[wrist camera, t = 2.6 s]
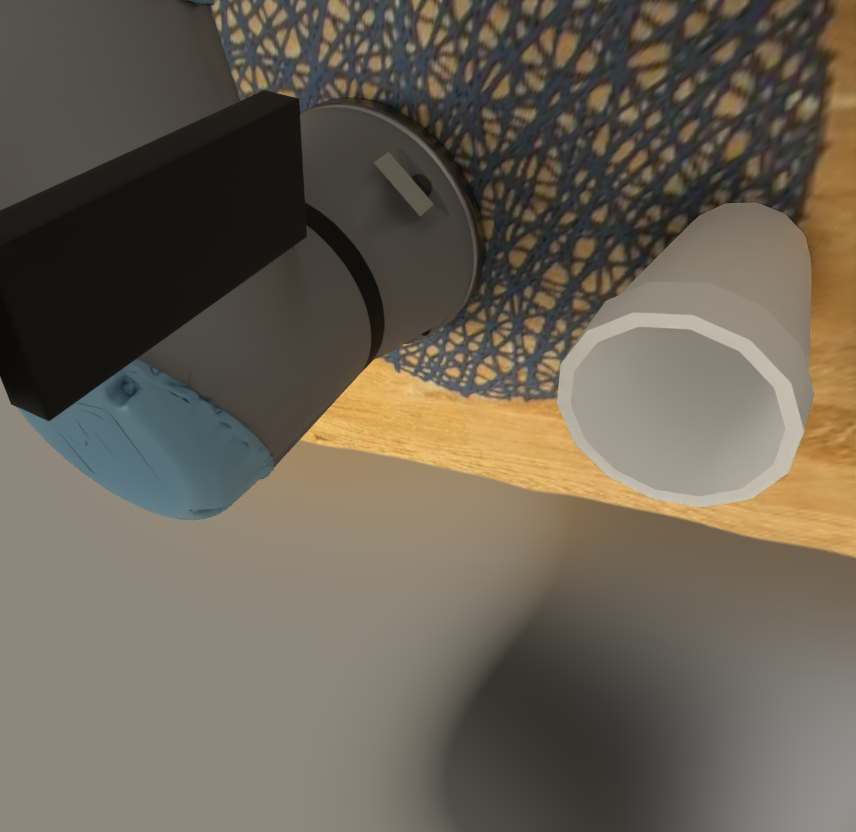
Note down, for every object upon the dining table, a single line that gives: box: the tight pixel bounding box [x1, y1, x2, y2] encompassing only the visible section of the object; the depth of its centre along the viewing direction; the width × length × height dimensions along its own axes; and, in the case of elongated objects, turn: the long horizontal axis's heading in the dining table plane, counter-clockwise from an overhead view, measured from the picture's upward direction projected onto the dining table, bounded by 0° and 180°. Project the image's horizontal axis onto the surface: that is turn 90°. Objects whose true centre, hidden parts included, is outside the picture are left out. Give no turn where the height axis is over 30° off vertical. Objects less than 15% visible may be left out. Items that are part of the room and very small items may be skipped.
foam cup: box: [557, 202, 814, 508], centre depth 34 cm, size 10×9×13 cm
